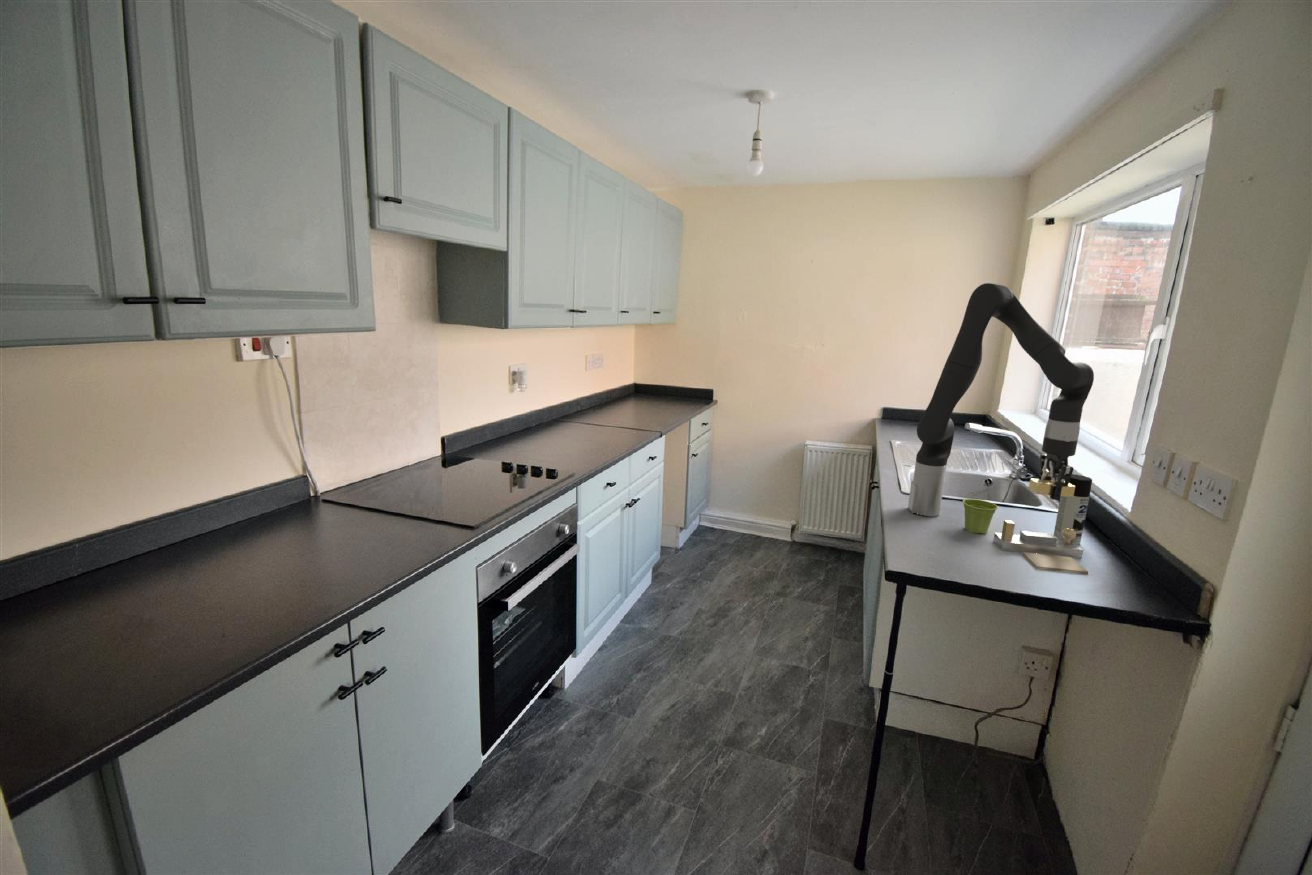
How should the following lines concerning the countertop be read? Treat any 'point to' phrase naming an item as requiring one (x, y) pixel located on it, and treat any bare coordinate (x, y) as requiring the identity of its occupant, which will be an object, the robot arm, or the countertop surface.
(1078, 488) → the spray can
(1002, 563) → the countertop surface
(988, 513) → the plant pot
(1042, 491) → the lever cap
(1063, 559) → the cork mat
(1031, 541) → the plane body
